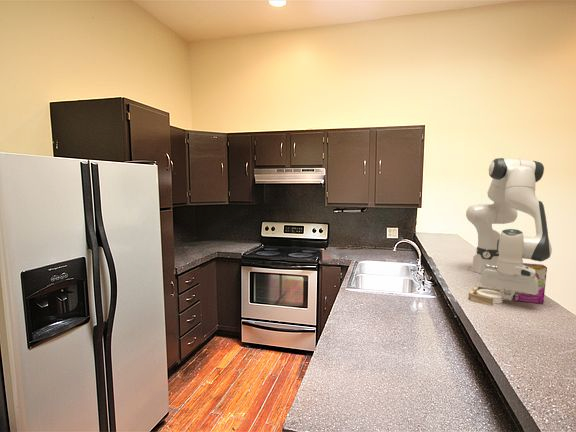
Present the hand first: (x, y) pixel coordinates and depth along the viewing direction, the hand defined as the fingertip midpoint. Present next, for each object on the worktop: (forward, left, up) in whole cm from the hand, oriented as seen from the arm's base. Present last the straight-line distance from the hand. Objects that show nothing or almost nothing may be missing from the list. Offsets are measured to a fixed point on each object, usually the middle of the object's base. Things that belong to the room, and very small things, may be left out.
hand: (507, 299), depth 136 cm
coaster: (0, -7, -2) cm, 7 cm away
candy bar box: (-9, +6, -2) cm, 11 cm away
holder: (0, -13, -2) cm, 13 cm away
